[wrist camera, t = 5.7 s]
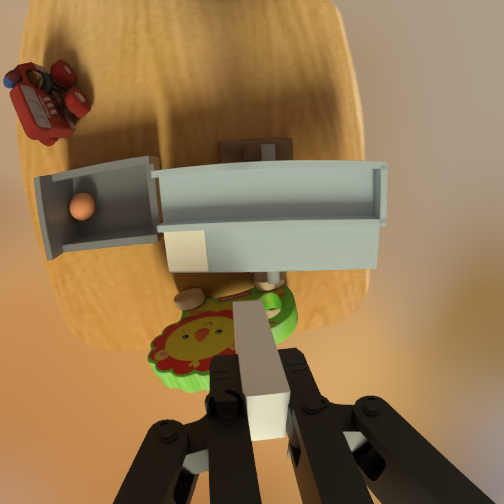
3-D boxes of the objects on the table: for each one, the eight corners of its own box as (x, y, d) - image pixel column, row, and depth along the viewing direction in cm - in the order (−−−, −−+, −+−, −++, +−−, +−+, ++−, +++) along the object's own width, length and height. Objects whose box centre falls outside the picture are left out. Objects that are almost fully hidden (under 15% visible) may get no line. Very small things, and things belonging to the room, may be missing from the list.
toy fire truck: (66, 55, 24) (25, 30, 14) (101, 121, 28) (58, 109, 18) (29, 89, 24) (-17, 77, 15) (60, 156, 28) (11, 158, 18)
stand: (219, 142, 30) (220, 136, 24) (289, 139, 31) (306, 134, 25) (229, 268, 35) (231, 290, 29) (293, 262, 36) (308, 283, 30)
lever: (163, 154, 26) (149, 154, 23) (374, 145, 24) (386, 144, 21) (177, 280, 30) (167, 293, 27) (370, 276, 28) (379, 289, 25)
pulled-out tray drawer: (68, 172, 29) (33, 178, 21) (159, 156, 30) (141, 154, 23) (78, 239, 32) (47, 260, 24) (167, 229, 33) (152, 249, 25)
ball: (71, 194, 29) (65, 196, 26) (95, 189, 30) (90, 191, 27) (75, 220, 30) (69, 225, 27) (98, 215, 31) (94, 220, 28)
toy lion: (280, 263, 36) (319, 329, 21) (288, 300, 37) (325, 376, 23) (158, 293, 35) (129, 371, 21) (172, 328, 37) (155, 413, 22)
